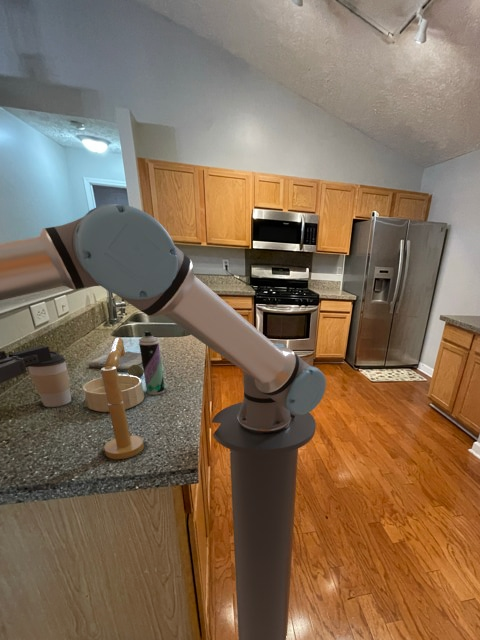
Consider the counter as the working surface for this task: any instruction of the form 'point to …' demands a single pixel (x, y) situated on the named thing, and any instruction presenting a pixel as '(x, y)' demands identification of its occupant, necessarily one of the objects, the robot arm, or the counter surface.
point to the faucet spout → (113, 372)
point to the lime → (136, 371)
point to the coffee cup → (52, 381)
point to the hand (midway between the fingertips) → (46, 352)
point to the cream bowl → (128, 387)
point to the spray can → (151, 364)
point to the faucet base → (122, 435)
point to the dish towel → (123, 363)
